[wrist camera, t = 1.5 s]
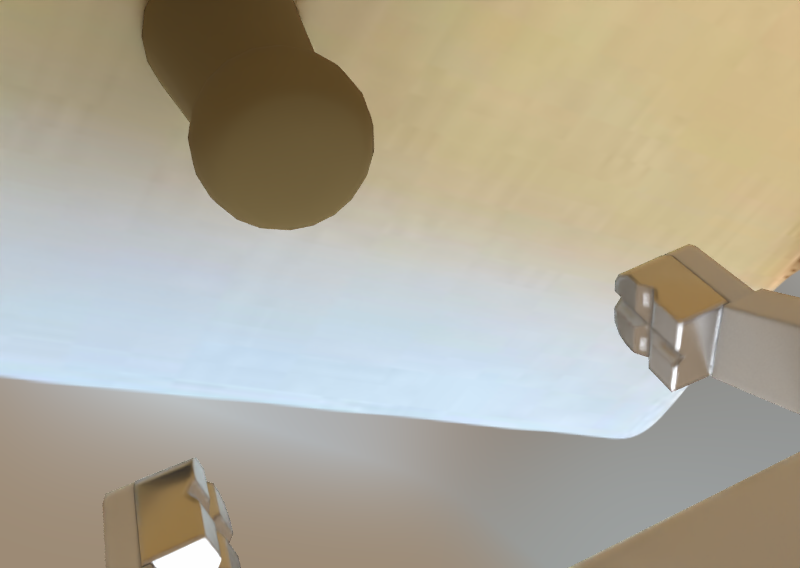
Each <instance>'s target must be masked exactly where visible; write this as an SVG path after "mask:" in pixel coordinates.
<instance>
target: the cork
mask: <svg viewBox="0 0 800 568" xmlns="http://www.w3.org/2000/svg"><path fill="white" fill-rule="evenodd" d="M142 39H143V44H144V48H145V52H146V57H147V61H148V63H149V65H150V66H151V68H152V70H153V71H154V73H155V75H156V77H157V78H158V80H159V82H160V83H161V85H162V86H163V87H164V89H165V90H166V91H167V93H168V94H169V95H170V97H171V98H172V99H173V101H174V102H175V103H176V105H177V106H178V107H179V109H180V110H181V111H182V113H183V114H184V115H185V117H186V118H187V119H188V121H189V122H190V127H189V134H188V141H189V146H190V151H191V156H192V160H193V165H194V168H195V172H196V175H197V176H198V178H199V180H200V181H201V183H202V184H203V186H204V188H205V189H206V191H207V192H208V194H209V196H210V197H211V198H212V199H213V200H214V201H215V202H216V203H217V204H218V205H220V206H221V207H222V208H223V209H225V210H226V211H227V212H228V213H230V214H231V215H232V216H233V217H235V218H236V219H237V220H240V221H243V222H245V223H248V224H251V225H253V226H256V227H259V228H265V229H280V230H293V229H298V228H303V227H308V226H312V225H315V224H317V223H319V222H321V221H323V220H325V219H327V218H329V217H331V216H333V215H335V214H336V213H337V212H338V211H339V210H340V209H341V208H342V207H344V206H345V205H346V204H347V203H348V202H349V201H350V200H351V199H352V198H353V196H354V195H355V193H356V192H357V190H358V189H359V187H360V186H361V184H362V183H363V181H364V179H365V178H366V176H367V173H368V170H369V166H370V163H371V159H372V156H373V153H374V135H373V123H372V119H371V116H370V113H369V110H368V108H367V105H366V102H365V100H364V97H363V94H362V92H361V91H360V90H359V89H358V88H357V87H356V85H355V84H354V83H353V82H352V81H351V80H350V78H349V77H348V76H347V75H346V74H345V72H344V71H343V70H342V69H341V68H340V67H339V66H338V65H336V64H335V63H333V62H331V61H329V60H328V59H326V58H324V57H322V56H321V55H319V54H317V53H316V52H314V50H313V47H312V45H311V42H310V40H309V38H308V35H307V33H306V31H305V28H304V26H303V23H302V21H301V19H300V16H299V14H298V11H297V9H296V7H295V4H294V2H293V0H149V2H148V4H147V6H146V8H145V10H144V20H143V30H142Z"/></svg>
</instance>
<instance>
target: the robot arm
mask: <svg viewBox="0 0 800 568" xmlns="http://www.w3.org/2000/svg"><path fill="white" fill-rule="evenodd" d="M615 292H617V293H618V294H619V295H620V296H621V298H620V300H619V301H618V303H617V305H616V306H615V308H614V316H615V323H616V326H617V329H618V332H619V334H620V336H621V337H622V339H623V341H624V342H625V344H626V345H627V346H628V347H629V348H630V349H631V350H632V351H633V352H634V353H637V354H640V355H643V356H646V357H648V359H649V369H650V370H651V371H652V372H653V373H654V374H655V375H656V376H657V377H658V378H659V379H660V380H661V381H662V382H663V383H664V385H665V386H666V387H667V388H668V389H669V390H670V391H671V392H673V391H676V390H678V389H680V388H682V387H685V386H687V385H689V384H692V383H694V382H696V381H699V380H701V379H703V378H705V377H708V376H710V375H712V378H715V379H717V380H719V381H722V382H724V383H726V384H729V385H731V386H734V387H736V388H738V389H741V390H743V391H745V392H748V393H750V394H753V395H755V396H757V397H760V398H762V399H764V400H767V401H769V402H771V403H774V404H776V405H779V406H781V407H784V408H786V409H788V410H790V411H793V412H795V413H798V414H800V298H799V297H795V296H790V295H786V294H782V293H778V292H774V291H769V290H765V289H760V290H757V291H754V290H752V289H751V288H750V287H748V286H747V285H746V284H745V283H743V282H742V281H741V280H739V279H738V278H737V277H735V276H734V275H733V274H732V273H730V272H729V271H728V270H726V269H725V268H724V267H722V266H721V265H720V264H718V263H717V262H716V261H715V260H713V259H712V258H711V257H709V256H708V255H707V254H705V253H704V252H703V251H701V250H700V249H699V248H698V247H696V246H693V245H690V244H688V245H686V246H683V247H681V248H679V249H676V250H674V251H672V252H669V253H667V254H665V255H663V256H659V257H657V258H655V259H653V260H650V261H648V262H646V263H644V264H641V265H639V266H637V267H635V268H632V269H630V270H628V271H626V272H623V273H621V274H619V275H618V277H617V279H616V280H615ZM103 523H104V541H105V561H106V568H241V567H240V562H239V558H238V555H237V554H236V552H235V551H234V549H233V548H232V547H231V545H230V544H229V543H230V540H231V538H232V535H233V531H232V526H231V522H230V518H229V515H228V512H227V510H226V507H225V504H224V501H223V500H222V497H221V495H220V493H219V491H218V490H217V488H216V487H215V485H214V484H213V483H210V482H206V477H205V472H204V469H203V467H202V466H201V464H200V463H199V461H198V460H197V459H196V458H192V459H190V460H187V461H185V462H182V463H180V464H177V465H175V466H172V467H170V468H167V469H165V470H162V471H160V472H157V473H155V474H152V475H150V476H147V477H145V478H142V479H140V480H137V481H135V482H134V483H131V484H129V485H126V486H124V487H121V488H119V489H116V490H114V491H111V492H109V493H106V494H105V497H104V501H103ZM569 568H800V452H798V453H796V454H794V455H793V456H790V457H789V458H786V459H784V460H782V461H780V462H778V463H777V464H774V465H773V466H770V467H769V468H767V469H765V470H763V471H761V472H759V473H757V474H755V475H753V476H751V477H749V478H747V479H745V480H743V481H741V482H739V483H737V484H735V485H733V486H731V487H729V488H727V489H725V490H723V491H721V492H719V493H717V494H715V495H713V496H711V497H709V498H707V499H705V500H703V501H701V502H699V503H697V504H695V505H693V506H691V507H689V508H687V509H685V510H683V511H681V512H679V513H677V514H675V515H673V516H671V517H669V518H667V519H665V520H663V521H661V522H659V523H657V524H655V525H653V526H651V527H649V528H647V529H645V530H643V531H641V532H639V533H637V534H635V535H633V536H631V537H629V538H627V539H625V540H623V541H621V542H619V543H617V544H615V545H613V546H611V547H609V548H607V549H605V550H603V551H601V552H599V553H597V554H595V555H593V556H591V557H589V558H587V559H585V560H583V561H581V562H579V563H577V564H575V565H573V566H571V567H569Z"/></svg>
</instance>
